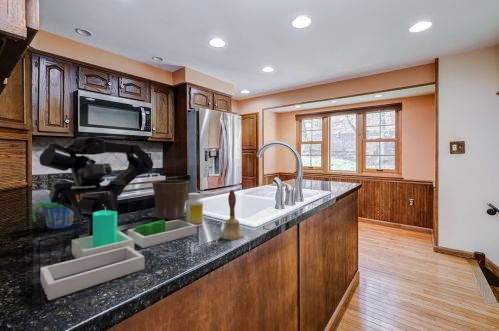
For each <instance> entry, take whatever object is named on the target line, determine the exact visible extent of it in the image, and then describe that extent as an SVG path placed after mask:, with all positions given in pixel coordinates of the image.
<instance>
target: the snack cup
mask: <svg viewBox="0 0 499 331" xmlns="http://www.w3.org/2000/svg"><path fill="white" fill-rule="evenodd" d="M77 201H78V202H79V201H80V200H78V199H77ZM40 207H41V208H42V211H43V213H44V218H45V222H46V227H47V228H48V229H50V230H51V229H52V230H57V229H58V230H59V229H64V228H68V227H71V225H72V224H73V222H74V214H75V213H74V212H73V211H72V210H70V209H69V208H67V207H65V206H63V205H61V204H60V205H59V204H57V203H51V202H50V199H46V200H43V201H42V202H41V203H39V204H38V205H36V206H35V207H34V209H33V211H32V215H31V216H32V217H31V218H32V220H33V223H36V222H37V218H36V211H37V210H38V209H39V208H40Z"/></svg>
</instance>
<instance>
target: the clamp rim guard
mask: <svg viewBox="0 0 499 331" xmlns="http://www.w3.org/2000/svg"><path fill="white" fill-rule="evenodd" d="M197 229H198V227H197V225H194V224H191V223H188V222H186V220H182V219H180V218H178V219H172V220H169V221H165V232H162V233H158V234H154V235H149V236H143V235H141V234H140V233H137V232H135V227H134V228H130V229H127V230H126V231H127V233H126V235H127V236H129V237H131V238H132V239H134V245H135V244H136V245H137V246H139V247H140V248H142V249H145V248H148V247H149V248H150V247H152V246H153V247H154V246H157V245H160V244H163V243H168V242H171V241H175V240H179V239H182V238H187V237H191V236H194V235H197V234H198V233H197V232H198V231H197Z"/></svg>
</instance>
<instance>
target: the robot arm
mask: <svg viewBox="0 0 499 331" xmlns="http://www.w3.org/2000/svg"><path fill="white" fill-rule="evenodd" d="M105 153H113V154H125V156H126V160H127V162H128V165H127V168H125V170H123V171H122V172H121V173H120V174H118V175H117V176H116V177H115V178H114V179H111V180H110V181H109V182H108V183H107V184H106V185H101V183H103V182H104V179H103V178H104V177H105V176H108V175H110V174H111V173H112V172H113V169H112V166H111V164H110V163H108V162H107V163H106V162H105V163H97V162H96V160H94V159H91V158H90V157H89V155H90V156H91V155H92V156H93V155H94V156H95V155H101V154H105ZM87 155H88V156H87ZM38 161H39V163H40V165H41V166H42V167H43V166H44V167H47V168H50V169H53V170H59V171H63V172H66V171H68V170H69V169H70V172H71V174H72V176H73V180H72V182H67V181H66V182H55V183H54V184H52V187H51V188H50V192H49V195H48V197H49V200H50V202H51V203H57V204H59V205H60V204H61V205H63V206H65V207H67V208H69V209H70V210H72V211H73V212H74V214H75V215H77V216H79V217H82V218H84V219H88V220H87V221H88V222H87V223H88V227H87V228H88V232H86V233H85V234H84V236H85V237H88V236H93V213H94V212H98V211H101V210H105V207H106V210H108V211H118V200H119V199H118V197H120V196H121V195H122V193H123V192H124V190H125V188H126V187H127V186H128V185H129V184H131V182H133V181H134V180H135V179H136V178H137V177H138V176H141V175H144V174H147V173H149V172H150V171H151V170H153V167H154V161H153V159H152V158H151V156H150V155H149V154H148V153H147V152H145V151H144V150H143V149H142V148H141V147H140V146H139V145H138V144H136V143H124V142H113V141H111V142H110V141H107V140H104V139H102V138H99V137H95V136H81V137H80V136H79V137H76V138H75V139H74V140H73V142H72V143H70V144H69V145H68V146H65V147H64V146H62V145H60V144H58V143H56V142H55V143H49V145H48V146H47V147H46V148H45V149H44V150H43V151H42V153H41V154H40V155H39V160H38ZM73 184H74V185H75V186H73ZM83 194H84V195H83ZM77 195H81V196H80V197H81V199H80V200H78V198H77ZM77 200H78V201H79V202H78V201H77Z"/></svg>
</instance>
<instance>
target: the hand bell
mask: <svg viewBox="0 0 499 331" xmlns="http://www.w3.org/2000/svg"><path fill="white" fill-rule="evenodd" d="M227 200H228V206H229V218H228V219H226V220H225V226H224V229H223V231H222V232H221V233H220V235H219V237H220V238H221V239H224V240H227V241H228V240H229V241H233V240H240V239H243V238H244V237H245V234H244V232H243V231H242V230H241V226H240V223H239V220H238V219H237V218H236V217H235V216H236V215H235V207H236V203H237V202H236V201H237V198H236V193H235V190H234V189H233V190H231V189H230V190H229V195H228V199H227Z"/></svg>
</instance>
